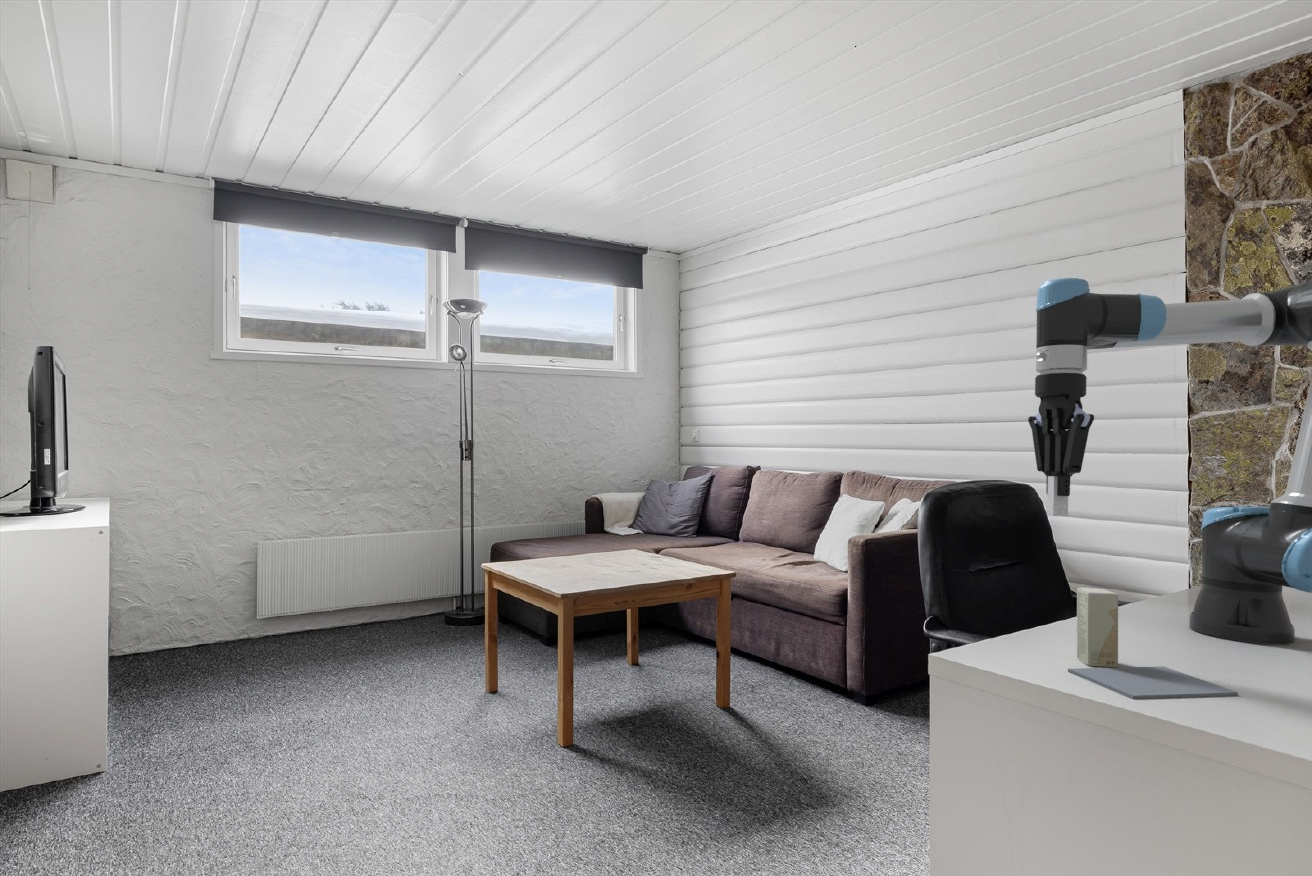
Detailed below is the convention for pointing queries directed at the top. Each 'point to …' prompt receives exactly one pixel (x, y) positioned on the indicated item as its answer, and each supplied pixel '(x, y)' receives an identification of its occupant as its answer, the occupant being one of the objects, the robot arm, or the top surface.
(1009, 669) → the top surface
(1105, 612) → the box
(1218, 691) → the mat
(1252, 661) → the top surface
